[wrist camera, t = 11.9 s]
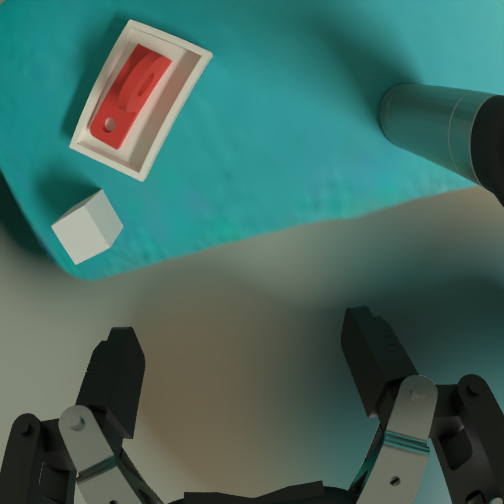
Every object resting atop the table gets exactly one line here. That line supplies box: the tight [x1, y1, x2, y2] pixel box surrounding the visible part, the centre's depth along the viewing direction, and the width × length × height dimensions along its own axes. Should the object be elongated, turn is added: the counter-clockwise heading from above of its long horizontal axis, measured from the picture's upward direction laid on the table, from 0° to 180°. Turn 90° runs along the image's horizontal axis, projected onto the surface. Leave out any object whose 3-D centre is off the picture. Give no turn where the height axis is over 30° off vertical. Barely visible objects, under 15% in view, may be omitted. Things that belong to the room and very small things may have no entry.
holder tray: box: [69, 20, 213, 182], centre depth 29 cm, size 11×17×2 cm, turn 149°
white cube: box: [51, 189, 123, 265], centre depth 34 cm, size 6×6×6 cm
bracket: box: [90, 44, 172, 150], centre depth 26 cm, size 12×4×8 cm, turn 144°
